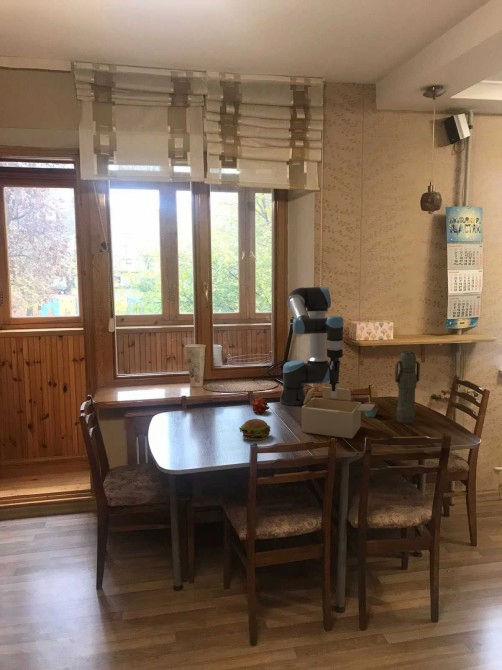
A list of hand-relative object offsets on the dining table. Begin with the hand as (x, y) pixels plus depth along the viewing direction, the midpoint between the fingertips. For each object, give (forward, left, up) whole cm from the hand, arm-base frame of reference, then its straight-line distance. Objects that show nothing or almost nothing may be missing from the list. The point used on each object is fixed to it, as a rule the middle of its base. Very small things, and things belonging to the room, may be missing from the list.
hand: (334, 397), depth 248 cm
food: (-30, -27, -15) cm, 43 cm away
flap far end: (+13, -4, -3) cm, 14 cm away
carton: (0, -4, -15) cm, 15 cm away
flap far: (0, +5, -3) cm, 6 cm away
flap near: (0, -14, -3) cm, 14 cm away
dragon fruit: (-42, +8, -15) cm, 45 cm away
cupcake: (+13, +24, -15) cm, 31 cm away
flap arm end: (-12, -4, -3) cm, 13 cm away
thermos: (+31, +22, -15) cm, 41 cm away
